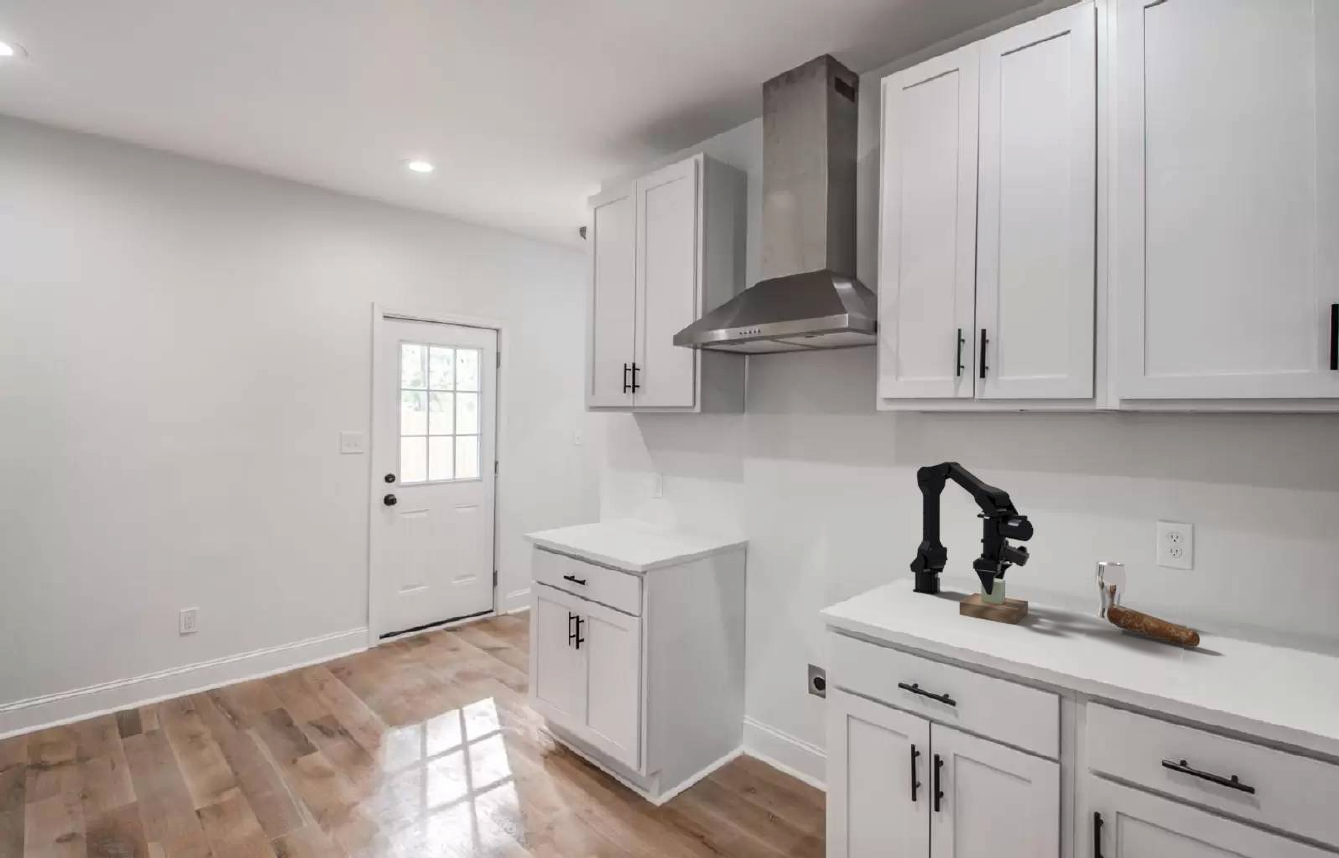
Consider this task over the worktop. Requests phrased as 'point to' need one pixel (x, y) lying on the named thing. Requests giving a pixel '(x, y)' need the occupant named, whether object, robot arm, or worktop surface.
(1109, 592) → the beer glass
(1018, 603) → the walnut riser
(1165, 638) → the bread
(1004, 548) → the robot arm
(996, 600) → the sage block
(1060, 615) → the worktop surface
